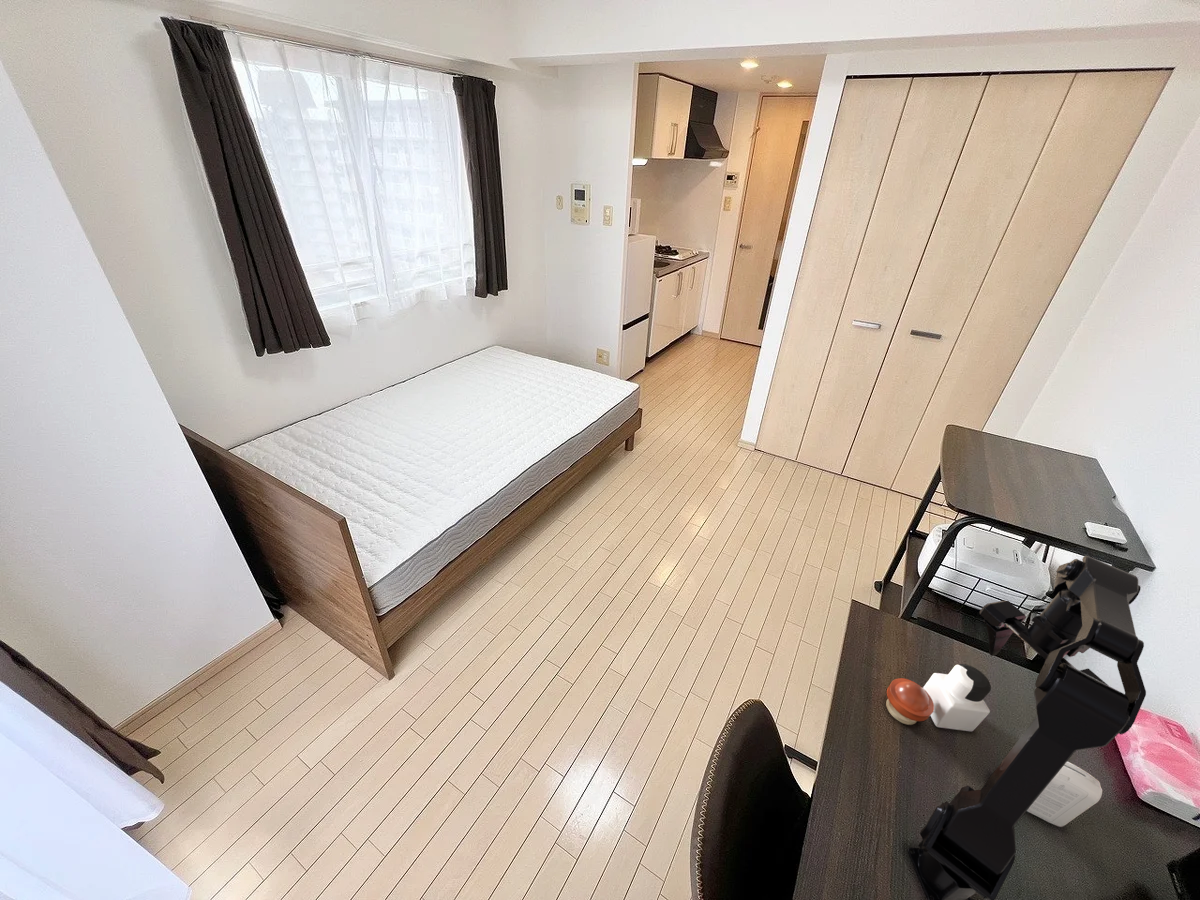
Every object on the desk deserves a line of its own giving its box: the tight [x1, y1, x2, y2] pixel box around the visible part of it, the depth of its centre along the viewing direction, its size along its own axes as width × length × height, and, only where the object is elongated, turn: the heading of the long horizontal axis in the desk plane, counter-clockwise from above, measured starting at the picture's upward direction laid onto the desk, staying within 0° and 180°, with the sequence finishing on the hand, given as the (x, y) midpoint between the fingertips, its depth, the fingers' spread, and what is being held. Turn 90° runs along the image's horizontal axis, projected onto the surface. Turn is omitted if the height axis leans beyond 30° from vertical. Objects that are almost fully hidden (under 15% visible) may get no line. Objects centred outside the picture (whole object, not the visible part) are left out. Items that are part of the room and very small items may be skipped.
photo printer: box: [1026, 761, 1103, 828], centre depth 79 cm, size 10×4×12 cm, turn 60°
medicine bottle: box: [922, 663, 992, 732], centre depth 92 cm, size 7×7×12 cm
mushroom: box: [885, 677, 934, 726], centre depth 93 cm, size 8×8×7 cm
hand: (1014, 676), depth 89 cm, fingers open, 9 cm apart
